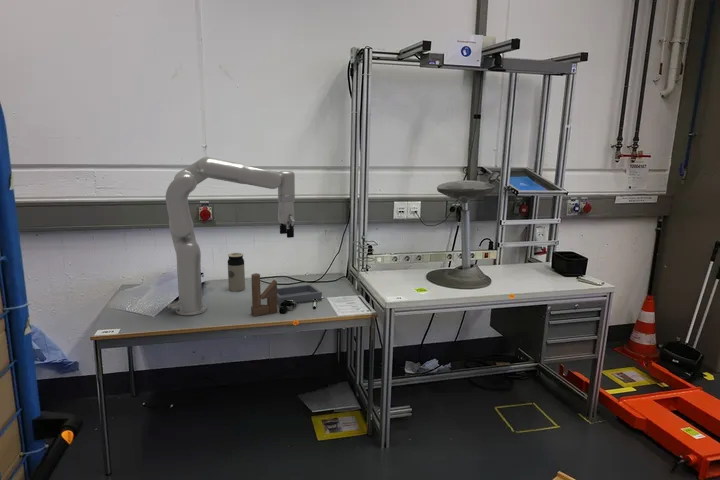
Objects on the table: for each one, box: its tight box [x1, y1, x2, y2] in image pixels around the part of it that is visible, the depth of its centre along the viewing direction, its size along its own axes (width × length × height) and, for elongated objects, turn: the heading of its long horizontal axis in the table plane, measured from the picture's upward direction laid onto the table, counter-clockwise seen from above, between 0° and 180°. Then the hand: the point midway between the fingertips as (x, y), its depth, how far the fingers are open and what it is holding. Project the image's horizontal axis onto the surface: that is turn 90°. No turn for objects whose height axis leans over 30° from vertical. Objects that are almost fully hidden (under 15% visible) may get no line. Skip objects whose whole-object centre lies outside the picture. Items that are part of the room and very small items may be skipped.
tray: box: [277, 283, 323, 306], centre depth 228 cm, size 20×14×4 cm
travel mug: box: [227, 252, 246, 292], centre depth 239 cm, size 8×8×18 cm
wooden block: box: [250, 272, 278, 317], centre depth 207 cm, size 4×11×18 cm, turn 121°
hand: (286, 235), depth 222 cm, fingers open, 9 cm apart
